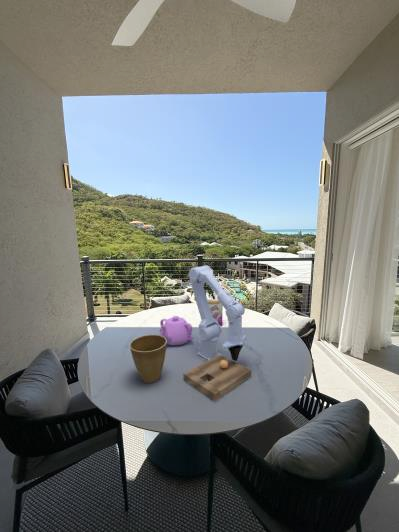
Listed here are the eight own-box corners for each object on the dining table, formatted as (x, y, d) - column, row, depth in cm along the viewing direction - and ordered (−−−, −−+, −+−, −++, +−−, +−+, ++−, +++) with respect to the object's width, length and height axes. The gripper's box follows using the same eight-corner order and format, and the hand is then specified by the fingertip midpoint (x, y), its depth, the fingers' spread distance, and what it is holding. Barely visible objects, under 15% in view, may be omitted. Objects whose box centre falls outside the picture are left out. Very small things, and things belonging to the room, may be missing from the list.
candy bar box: (204, 327, 159) (204, 301, 156) (204, 323, 164) (204, 299, 161) (222, 326, 159) (222, 301, 156) (221, 323, 164) (221, 298, 161)
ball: (218, 367, 108) (218, 360, 108) (223, 364, 111) (223, 357, 110) (224, 371, 106) (224, 363, 105) (229, 367, 108) (229, 360, 108)
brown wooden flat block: (183, 380, 105) (183, 373, 105) (219, 360, 120) (219, 354, 120) (214, 401, 92) (214, 394, 92) (251, 376, 107) (251, 370, 107)
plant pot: (152, 364, 118) (150, 331, 115) (175, 376, 108) (174, 340, 106) (124, 379, 106) (122, 343, 104) (147, 394, 97) (145, 355, 94)
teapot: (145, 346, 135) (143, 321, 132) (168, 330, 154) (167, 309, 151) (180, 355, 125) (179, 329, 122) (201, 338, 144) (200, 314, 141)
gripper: (231, 339, 103) (231, 369, 105) (252, 328, 113) (251, 357, 115) (218, 333, 108) (218, 363, 110) (239, 324, 118) (239, 351, 120)
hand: (234, 359), depth 113 cm, fingers closed
